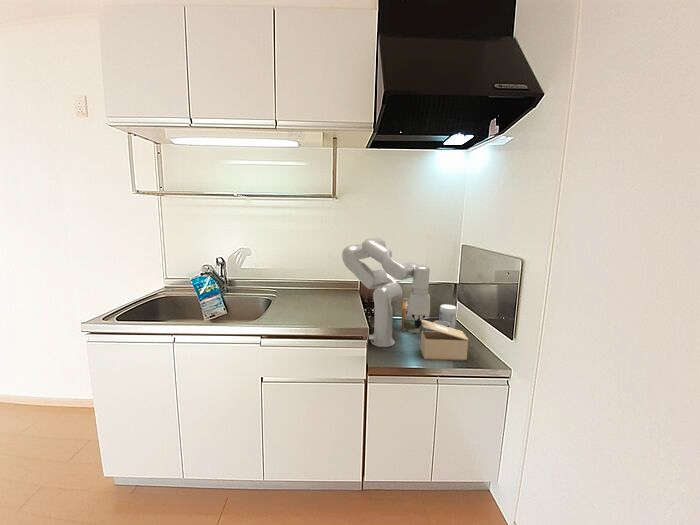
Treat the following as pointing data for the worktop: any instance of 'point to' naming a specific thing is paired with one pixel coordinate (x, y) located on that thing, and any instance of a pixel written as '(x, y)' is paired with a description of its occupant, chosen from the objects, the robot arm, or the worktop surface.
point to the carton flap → (443, 329)
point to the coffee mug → (442, 323)
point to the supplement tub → (448, 314)
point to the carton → (443, 346)
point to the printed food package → (408, 320)
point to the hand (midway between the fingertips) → (417, 327)
